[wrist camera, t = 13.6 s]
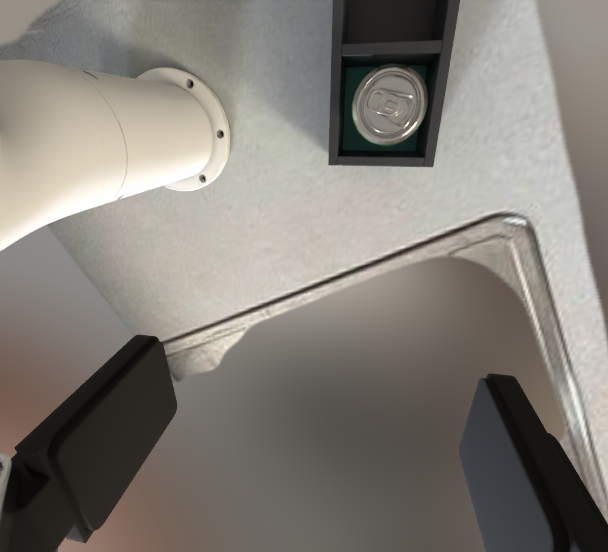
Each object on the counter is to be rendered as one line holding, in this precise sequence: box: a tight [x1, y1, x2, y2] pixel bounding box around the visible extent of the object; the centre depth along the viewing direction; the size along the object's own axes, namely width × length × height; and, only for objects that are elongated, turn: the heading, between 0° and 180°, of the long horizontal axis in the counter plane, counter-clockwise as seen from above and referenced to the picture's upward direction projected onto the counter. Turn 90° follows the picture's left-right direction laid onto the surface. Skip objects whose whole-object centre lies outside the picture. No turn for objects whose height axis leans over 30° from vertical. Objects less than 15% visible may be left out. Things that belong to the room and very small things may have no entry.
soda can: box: [352, 63, 428, 146], centre depth 27 cm, size 5×5×12 cm
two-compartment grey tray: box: [329, 0, 460, 167], centre depth 28 cm, size 9×17×7 cm, turn 0°
